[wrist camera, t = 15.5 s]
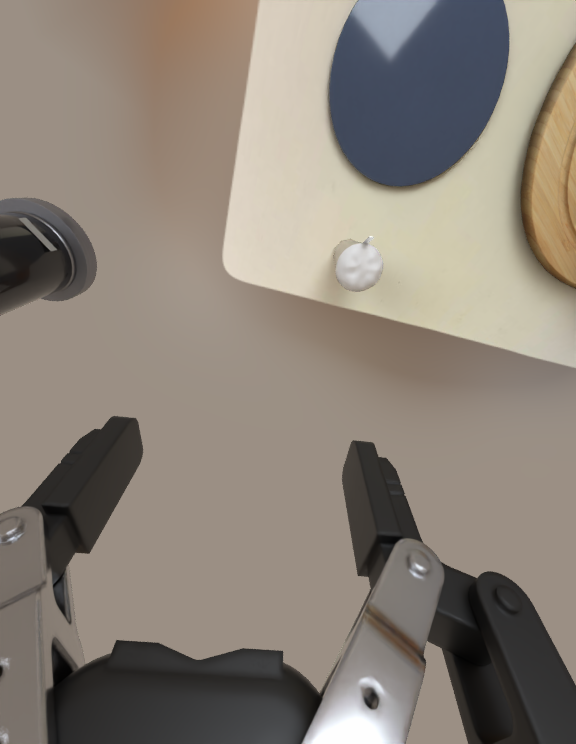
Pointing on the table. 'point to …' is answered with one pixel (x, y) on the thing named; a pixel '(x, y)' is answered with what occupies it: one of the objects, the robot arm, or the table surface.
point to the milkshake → (357, 264)
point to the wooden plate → (553, 178)
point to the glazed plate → (416, 84)
